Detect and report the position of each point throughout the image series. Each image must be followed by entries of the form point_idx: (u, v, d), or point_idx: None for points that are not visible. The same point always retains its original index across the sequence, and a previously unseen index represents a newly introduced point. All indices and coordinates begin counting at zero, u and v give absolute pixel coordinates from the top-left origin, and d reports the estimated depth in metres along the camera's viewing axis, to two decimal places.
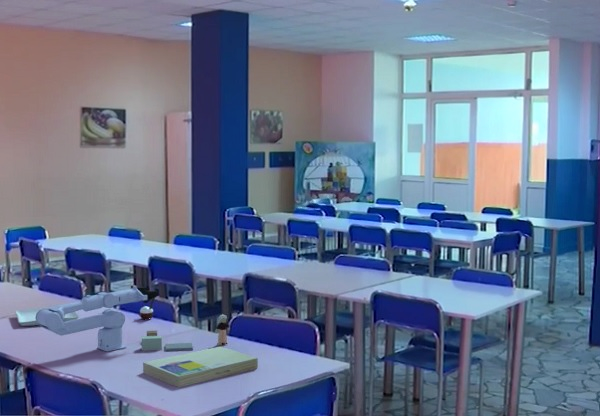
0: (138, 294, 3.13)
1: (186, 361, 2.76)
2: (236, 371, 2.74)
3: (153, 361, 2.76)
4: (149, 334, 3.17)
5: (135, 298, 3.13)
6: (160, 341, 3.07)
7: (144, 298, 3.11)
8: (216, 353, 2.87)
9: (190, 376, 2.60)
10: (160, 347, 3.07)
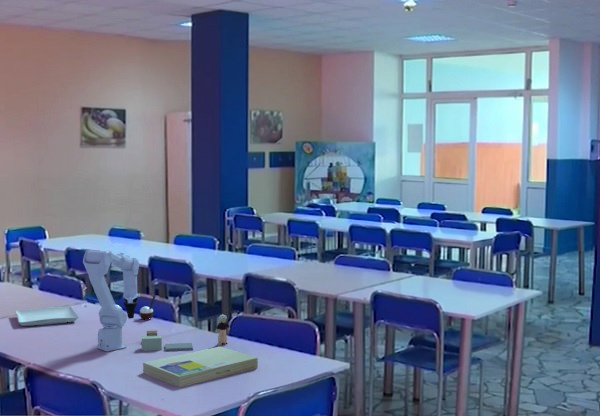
0: None
1: (186, 361, 2.76)
2: (236, 371, 2.74)
3: (153, 361, 2.75)
4: (149, 334, 3.17)
5: (128, 294, 3.19)
6: (160, 341, 3.07)
7: (129, 299, 3.15)
8: (216, 353, 2.87)
9: (190, 376, 2.60)
10: (160, 347, 3.07)
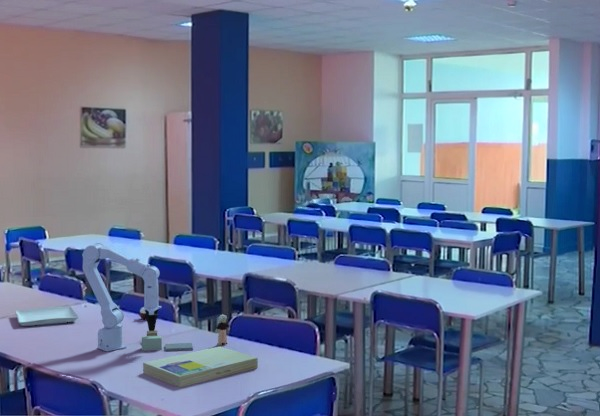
0: (153, 308, 3.04)
1: (186, 361, 2.76)
2: (236, 371, 2.75)
3: (153, 361, 2.75)
4: (149, 334, 3.17)
5: (149, 305, 3.04)
6: (160, 341, 3.07)
7: (150, 311, 3.00)
8: (216, 353, 2.88)
9: (191, 376, 2.60)
10: (160, 347, 3.07)
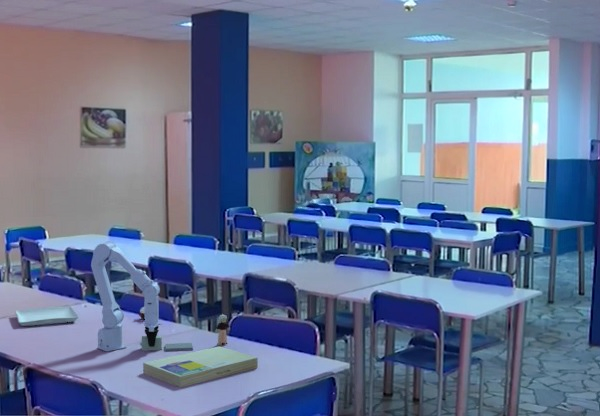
0: None
1: (186, 361, 2.76)
2: (236, 371, 2.75)
3: (153, 361, 2.75)
4: None
5: (149, 322, 3.05)
6: (160, 341, 3.07)
7: (151, 328, 3.01)
8: (215, 353, 2.88)
9: (191, 376, 2.60)
10: (160, 347, 3.07)
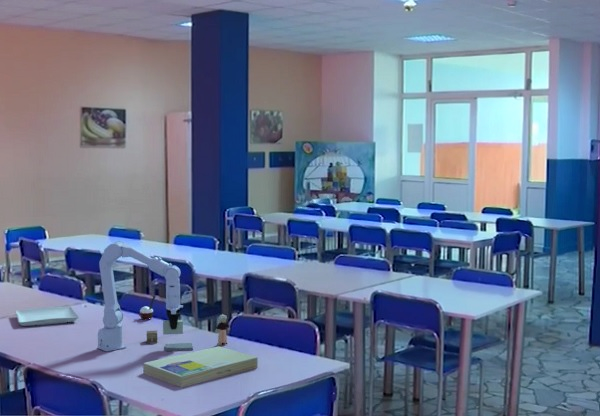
0: (175, 307, 3.06)
1: (186, 361, 2.76)
2: (237, 370, 2.75)
3: (153, 362, 2.75)
4: (149, 334, 3.17)
5: (171, 304, 3.05)
6: (181, 325, 3.08)
7: (173, 310, 3.01)
8: (215, 353, 2.88)
9: (192, 376, 2.60)
10: (181, 331, 3.08)
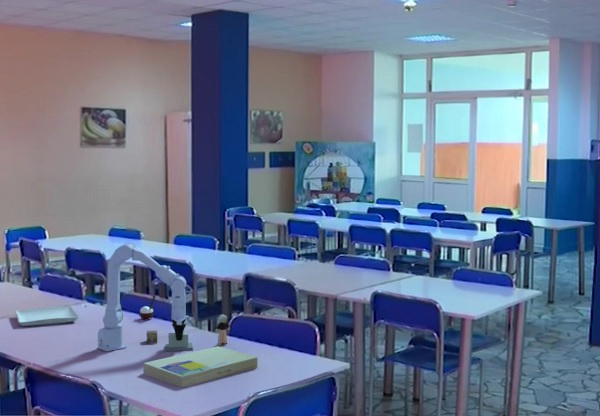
0: (180, 318, 3.06)
1: (186, 361, 2.76)
2: (237, 370, 2.75)
3: (153, 362, 2.75)
4: (149, 334, 3.17)
5: (176, 315, 3.06)
6: (187, 338, 3.08)
7: (178, 321, 3.02)
8: (215, 353, 2.88)
9: (192, 376, 2.60)
10: (187, 344, 3.08)
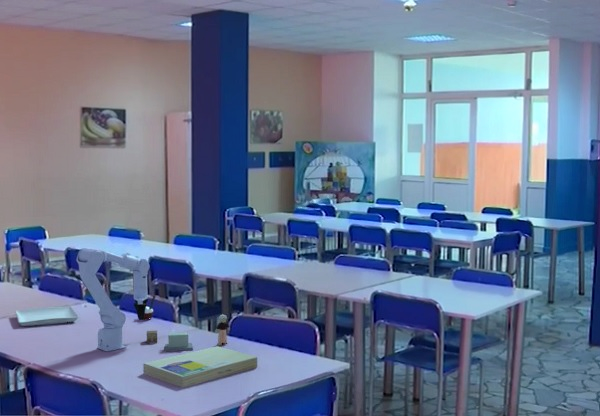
0: None
1: (186, 361, 2.76)
2: (237, 370, 2.75)
3: (153, 362, 2.74)
4: (149, 334, 3.17)
5: (138, 295, 3.17)
6: (187, 338, 3.08)
7: (139, 300, 3.12)
8: (215, 353, 2.88)
9: (193, 376, 2.60)
10: (187, 344, 3.08)
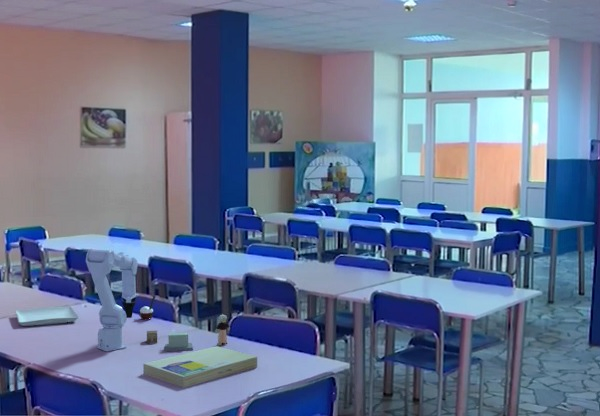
0: (130, 296, 3.20)
1: (186, 361, 2.76)
2: (237, 370, 2.76)
3: (153, 362, 2.74)
4: (149, 334, 3.17)
5: (126, 293, 3.20)
6: (187, 338, 3.08)
7: (128, 299, 3.16)
8: (214, 353, 2.88)
9: (194, 376, 2.60)
10: (187, 344, 3.08)
